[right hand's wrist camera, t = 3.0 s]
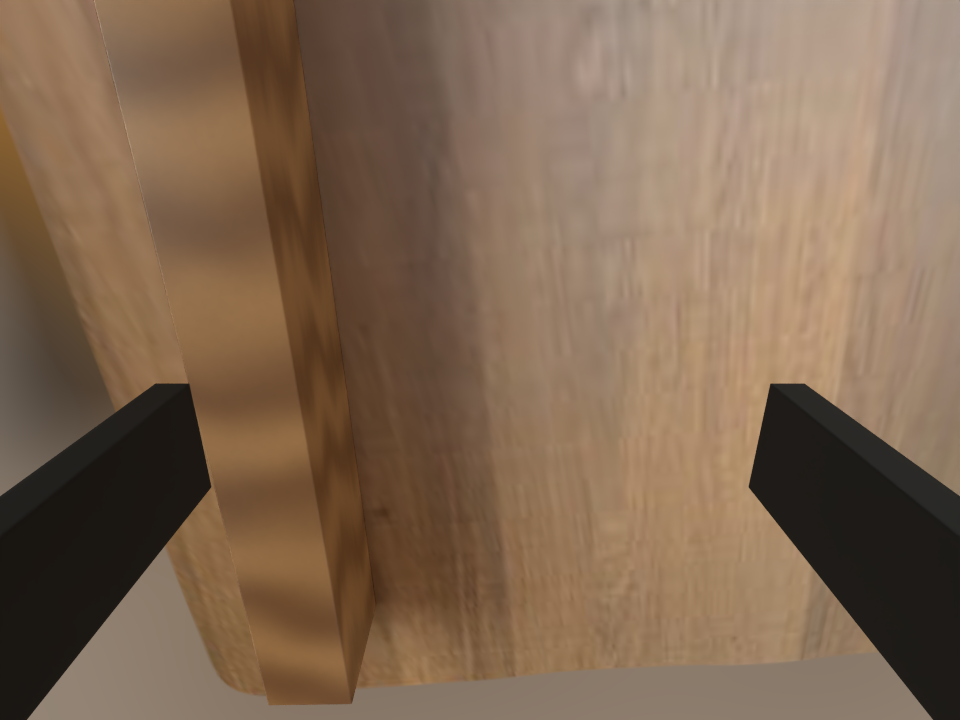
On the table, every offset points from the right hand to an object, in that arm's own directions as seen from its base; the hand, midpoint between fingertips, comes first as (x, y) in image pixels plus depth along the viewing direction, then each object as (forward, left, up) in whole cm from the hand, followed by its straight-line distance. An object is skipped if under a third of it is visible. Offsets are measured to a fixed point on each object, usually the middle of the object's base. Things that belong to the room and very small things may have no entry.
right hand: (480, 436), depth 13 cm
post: (+4, +11, -18) cm, 21 cm away
